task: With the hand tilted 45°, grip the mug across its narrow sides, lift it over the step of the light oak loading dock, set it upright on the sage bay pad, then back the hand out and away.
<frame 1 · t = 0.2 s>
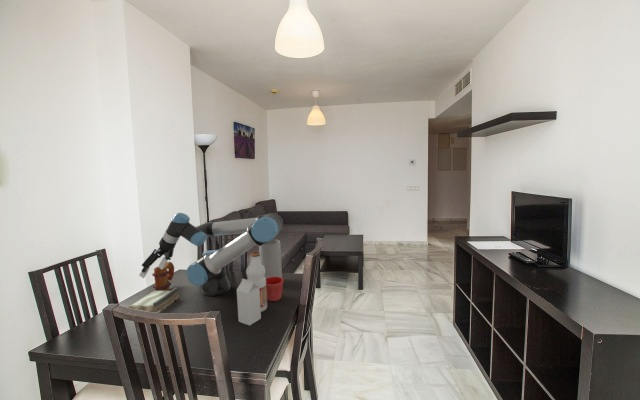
hand: (151, 272, 155), 15 cm above the table, tool tilted 35°, fingers open, 13 cm apart
mug: (165, 289, 170), on the table
cylinder vase: (271, 283, 175), on the table
fruit juice: (257, 308, 143), on the table, touching arm
milk carton: (249, 320, 132), on the table
flower pot: (274, 298, 154), on the table
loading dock: (155, 305, 149), on the table
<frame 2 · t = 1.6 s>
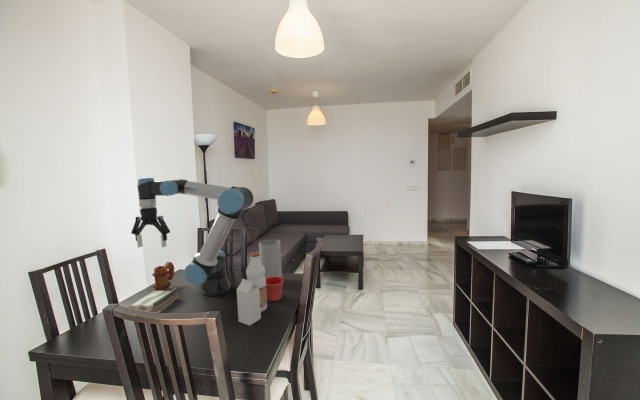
hand: (152, 246, 154), 29 cm above the table, tool pointing down, fingers open, 13 cm apart
fruit juice: (257, 308, 143), on the table
everything else where it was.
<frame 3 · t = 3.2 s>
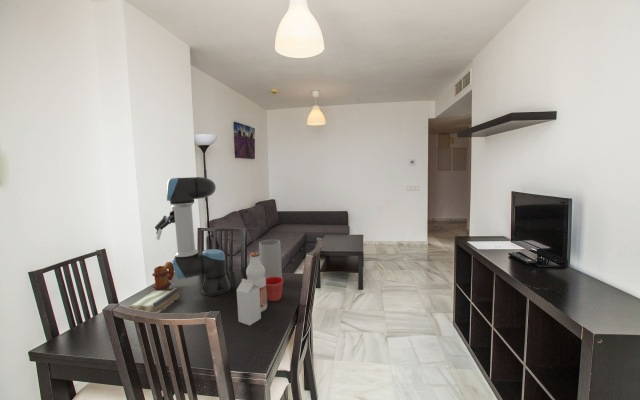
hand: (169, 238, 177), 28 cm above the table, tool tilted 45°, fingers open, 13 cm apart
nothing on the table moved.
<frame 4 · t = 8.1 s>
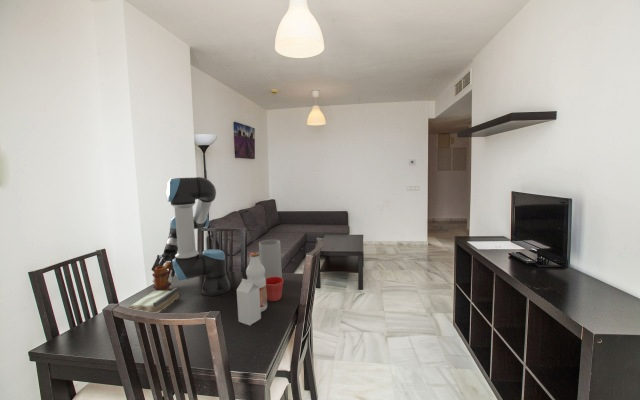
hand: (161, 282, 166), 6 cm above the table, tool tilted 45°, fingers closed on mug, 8 cm apart
mug: (166, 289, 170), on the table, touching gripper
everything else where it was.
when the fingers open (11 cm above the table, at t = 14.9 s): mug drops 1 cm, resting on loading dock.
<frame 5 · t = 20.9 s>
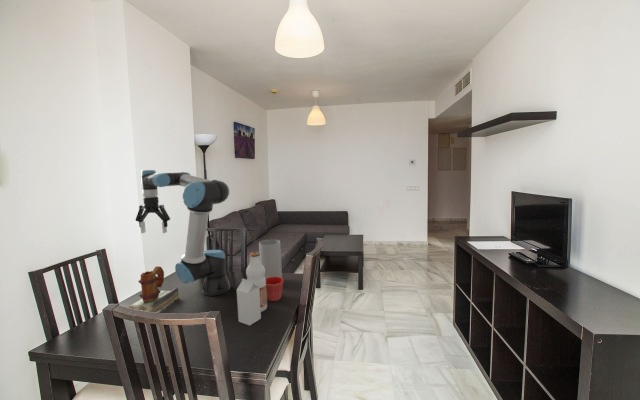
hand: (154, 232, 171), 33 cm above the table, tool pointing down, fingers open, 13 cm apart
mug: (154, 298, 149), point 4 cm above the table, touching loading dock
everything else where it was.
at the end: mug inside the target area (0.3 cm from its centre), point 4.1 cm above the table; mug tilted 0°; the gripper is holding nothing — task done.
